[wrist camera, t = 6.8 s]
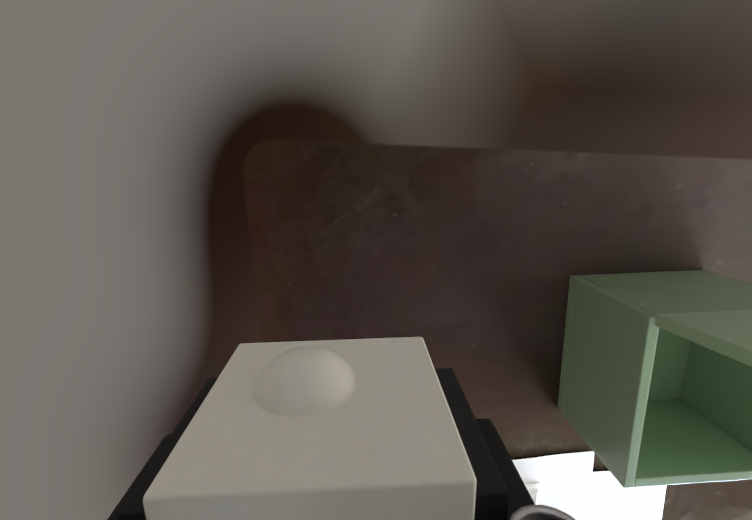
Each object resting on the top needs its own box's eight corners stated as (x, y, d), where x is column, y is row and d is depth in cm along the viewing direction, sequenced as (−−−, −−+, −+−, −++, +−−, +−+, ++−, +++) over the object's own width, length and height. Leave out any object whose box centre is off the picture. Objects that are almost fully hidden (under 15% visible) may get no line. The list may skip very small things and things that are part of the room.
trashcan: (680, 400, 39) (785, 477, 29) (557, 407, 38) (623, 488, 29) (704, 269, 36) (831, 308, 26) (569, 275, 35) (649, 317, 25)
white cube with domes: (236, 315, 9) (101, 492, 4) (423, 309, 10) (497, 471, 5) (259, 519, 11) (178, 822, 6) (420, 510, 11) (473, 795, 6)
